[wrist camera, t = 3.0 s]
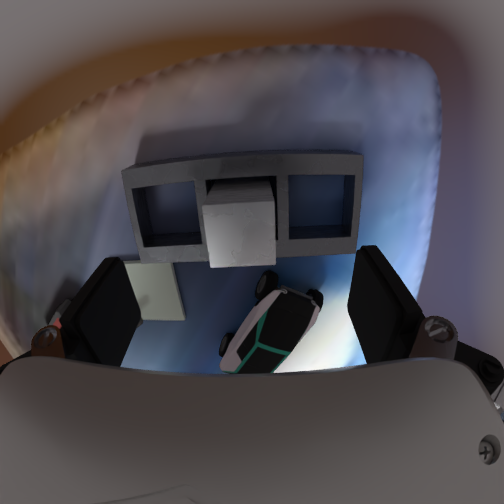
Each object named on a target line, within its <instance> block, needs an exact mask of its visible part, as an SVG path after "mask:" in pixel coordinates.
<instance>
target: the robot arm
mask: <svg viewBox="0 0 504 504" xmlns="http://www.w3.org/2000/svg"><path fill="white" fill-rule="evenodd" d="M347 308H348V313H349V316H350V318H351V321H352V324H353V326H354V329H355V332H356V334H357V337H358V340H359V343H360V345H361V348H362V351H363V354H364V357H365V360H366V362H367V364H364V365H356V366H349V367H340V368H331V369H322V370H312V371H300V372H285V373H263V374H199V373H178V372H164V371H152V370H141V369H132V368H124V367H120V366H121V363H122V361H123V358H124V356H125V354H126V351H127V349H128V346H129V344H130V342H131V339H132V337H133V335H134V332H135V330H136V328H137V326H138V323H139V321H140V319H141V310H140V307H139V304H138V302H137V299H136V296H135V294H134V291H133V288H132V285H131V282H130V279H129V276H128V273H127V270H126V267H125V264H124V262H123V261H122V260H120V258H118V257H110V258H105V259H104V260H103V261H102V263H101V264H100V265H99V266H98V268H97V269H96V270H95V271H94V273H93V274H92V275H91V276H90V278H89V279H88V280H87V281H86V283H85V284H84V285H83V287H82V288H81V289H80V291H79V292H78V293H77V295H76V296H75V297H74V299H73V300H72V301H71V303H70V304H69V306H68V307H67V308H66V310H65V311H64V313H63V314H62V316H61V317H60V318H59V322H60V324H61V326H62V327H61V328H60V329H59V328H58V327H57V326H55V325H48V326H45V327H43V328H41V329H40V330H38V331H37V332H36V333H35V335H34V336H33V338H32V340H31V350H30V351H28V352H26V353H25V354H23V355H21V356H19V357H17V358H15V359H13V360H12V361H10V362H8V363H6V364H4V365H2V366H1V367H0V504H504V369H503V367H502V365H501V363H500V362H499V361H498V360H497V359H496V358H495V357H493V356H491V355H489V354H486V353H484V352H482V351H480V350H478V349H475V348H473V347H471V346H468V345H466V344H464V343H462V342H460V341H457V340H458V332H457V329H456V328H455V326H454V325H453V323H451V322H450V321H449V320H448V319H445V318H443V317H440V316H429V317H426V318H425V316H424V314H423V313H422V310H421V308H420V307H419V305H418V303H417V302H416V300H415V299H414V297H413V296H412V294H411V293H410V291H409V290H408V289H407V287H406V286H405V284H404V283H403V281H402V280H401V278H400V277H399V276H398V274H397V273H396V271H395V270H394V269H393V267H392V266H391V264H390V263H389V262H388V260H387V259H386V258H385V256H384V255H383V254H382V252H381V251H380V250H379V248H378V247H377V246H376V245H368V246H362V247H361V248H360V250H357V251H356V257H355V263H354V270H353V276H352V282H351V288H350V293H349V298H348V304H347Z"/></svg>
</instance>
